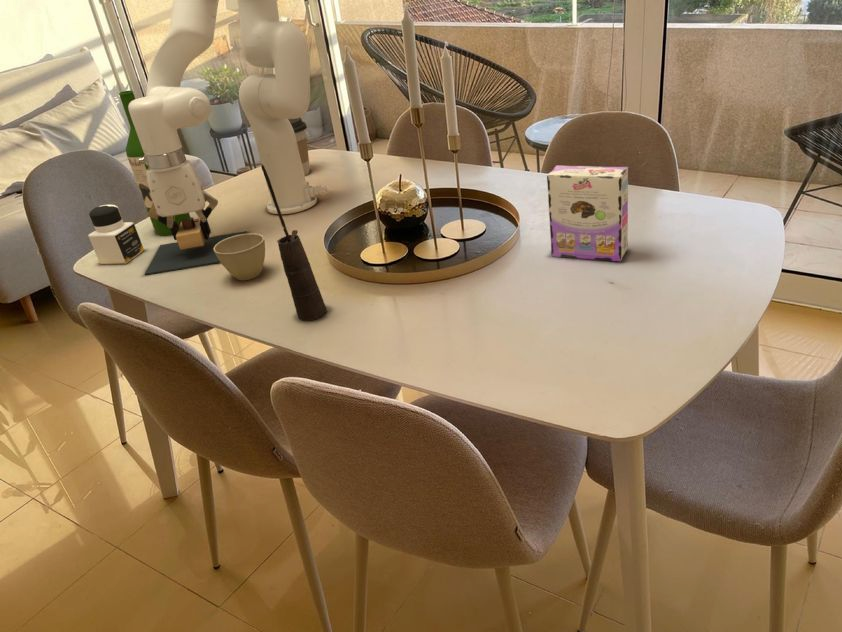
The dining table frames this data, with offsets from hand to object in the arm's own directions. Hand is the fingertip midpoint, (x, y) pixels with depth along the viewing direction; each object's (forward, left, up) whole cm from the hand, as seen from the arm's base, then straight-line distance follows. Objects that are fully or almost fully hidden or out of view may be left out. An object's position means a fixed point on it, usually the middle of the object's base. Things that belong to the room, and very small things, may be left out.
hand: (194, 238), depth 154 cm
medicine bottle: (+18, -5, -4) cm, 19 cm away
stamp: (0, 0, -1) cm, 1 cm away
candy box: (-80, +34, -4) cm, 87 cm away
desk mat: (0, 0, -3) cm, 3 cm away
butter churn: (-27, +38, -4) cm, 47 cm away
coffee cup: (-20, -49, -4) cm, 53 cm away
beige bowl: (-13, +17, -4) cm, 22 cm away
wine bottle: (+9, -19, -4) cm, 21 cm away
